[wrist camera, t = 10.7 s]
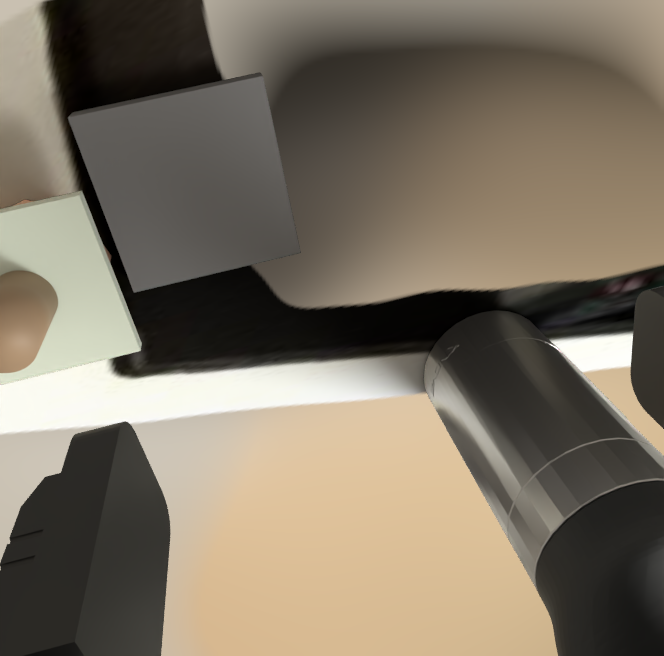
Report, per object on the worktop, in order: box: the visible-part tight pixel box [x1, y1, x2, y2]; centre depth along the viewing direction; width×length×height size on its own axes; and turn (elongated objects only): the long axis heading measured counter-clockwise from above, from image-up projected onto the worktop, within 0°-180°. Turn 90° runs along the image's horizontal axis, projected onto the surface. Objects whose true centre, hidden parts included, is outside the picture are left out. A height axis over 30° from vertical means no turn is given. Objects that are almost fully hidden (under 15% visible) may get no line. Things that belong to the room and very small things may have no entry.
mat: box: [68, 73, 301, 292], centre depth 35 cm, size 10×10×2 cm
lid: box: [0, 191, 142, 385], centre depth 30 cm, size 9×9×5 cm
